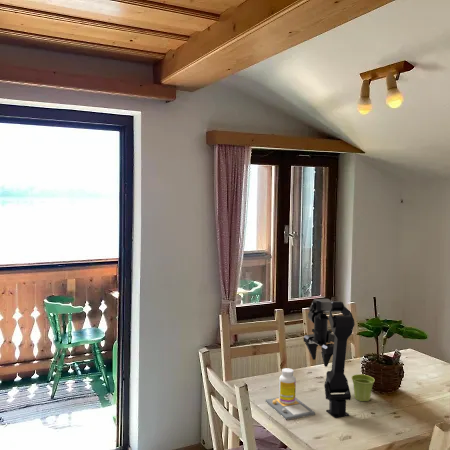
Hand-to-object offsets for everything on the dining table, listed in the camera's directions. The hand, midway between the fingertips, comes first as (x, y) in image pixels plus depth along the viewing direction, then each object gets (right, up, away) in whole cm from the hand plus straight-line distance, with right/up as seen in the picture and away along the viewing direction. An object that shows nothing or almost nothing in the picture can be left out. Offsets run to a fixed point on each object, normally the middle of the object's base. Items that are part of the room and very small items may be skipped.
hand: (319, 363), depth 214 cm
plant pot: (+16, -13, -8) cm, 22 cm away
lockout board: (-15, -13, -17) cm, 27 cm away
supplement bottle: (-16, -12, -13) cm, 24 cm away
